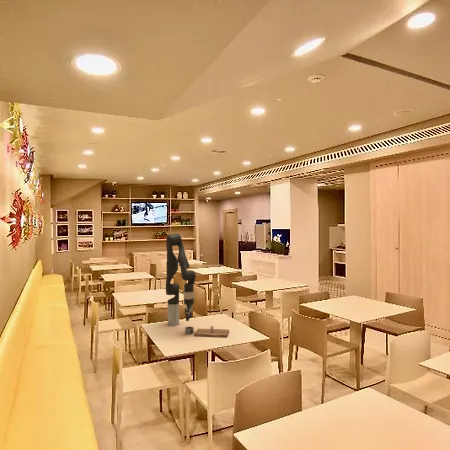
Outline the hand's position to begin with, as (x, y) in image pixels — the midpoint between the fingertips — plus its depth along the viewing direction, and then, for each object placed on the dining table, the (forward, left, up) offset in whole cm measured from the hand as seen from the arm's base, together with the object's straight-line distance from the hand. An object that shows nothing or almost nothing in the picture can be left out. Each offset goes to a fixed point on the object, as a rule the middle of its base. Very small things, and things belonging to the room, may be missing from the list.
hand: (188, 319), depth 268 cm
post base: (-1, +17, -10) cm, 20 cm away
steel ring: (-1, 0, -10) cm, 10 cm away
